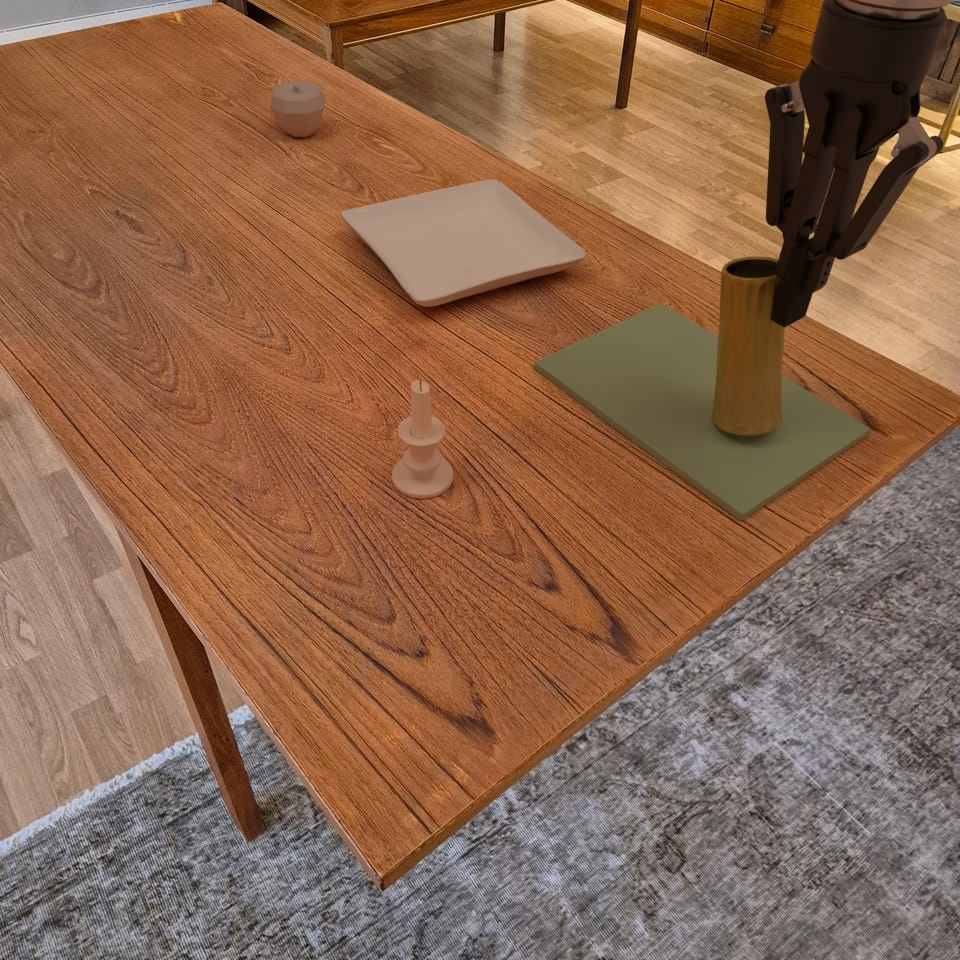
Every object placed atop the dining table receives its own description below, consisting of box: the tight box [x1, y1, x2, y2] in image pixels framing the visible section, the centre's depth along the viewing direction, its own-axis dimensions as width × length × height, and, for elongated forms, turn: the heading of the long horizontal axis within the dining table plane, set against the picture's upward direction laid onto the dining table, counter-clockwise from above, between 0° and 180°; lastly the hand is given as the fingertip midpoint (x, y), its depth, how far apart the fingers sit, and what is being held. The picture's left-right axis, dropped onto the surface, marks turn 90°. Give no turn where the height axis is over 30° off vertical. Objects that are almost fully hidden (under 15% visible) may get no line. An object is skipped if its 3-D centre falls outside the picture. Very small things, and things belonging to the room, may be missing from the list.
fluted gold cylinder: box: [711, 256, 786, 436], centre depth 76 cm, size 6×6×14 cm
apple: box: [269, 81, 326, 138], centre depth 124 cm, size 8×8×7 cm
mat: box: [533, 302, 872, 522], centre depth 84 cm, size 26×18×1 cm
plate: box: [340, 178, 587, 308], centre depth 101 cm, size 21×21×3 cm
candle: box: [391, 379, 454, 500], centre depth 72 cm, size 5×5×10 cm
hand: (787, 317), depth 72 cm, fingers closed
